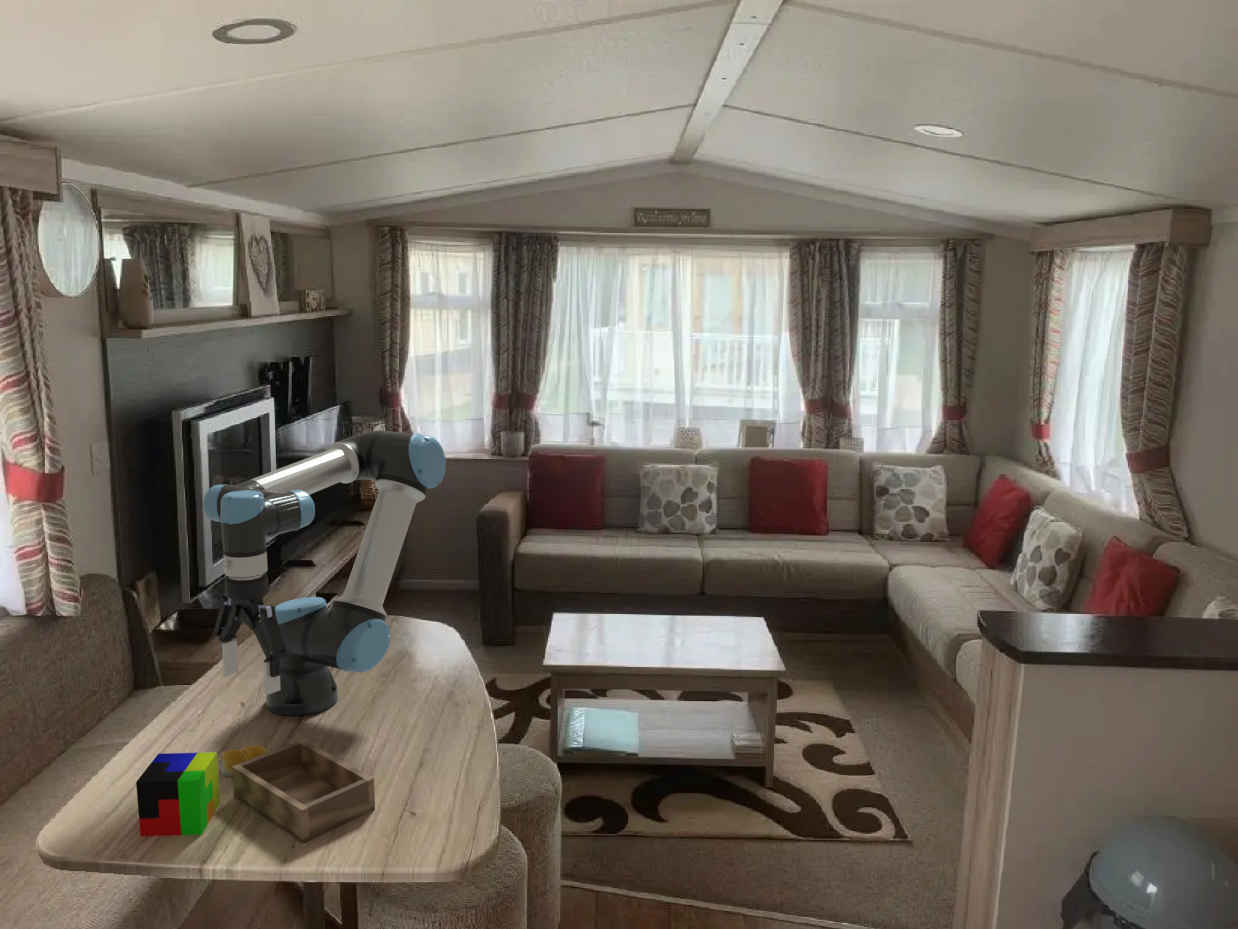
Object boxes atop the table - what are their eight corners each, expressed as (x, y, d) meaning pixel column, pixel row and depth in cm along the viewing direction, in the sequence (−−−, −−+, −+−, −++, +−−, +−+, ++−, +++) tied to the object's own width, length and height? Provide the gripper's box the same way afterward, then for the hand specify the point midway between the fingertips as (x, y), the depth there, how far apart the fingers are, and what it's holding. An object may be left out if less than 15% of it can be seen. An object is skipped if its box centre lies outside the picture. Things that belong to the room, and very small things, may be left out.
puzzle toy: (162, 805, 176) (158, 753, 175) (220, 804, 177) (216, 752, 175) (140, 837, 167) (136, 782, 165) (201, 835, 168) (198, 780, 166)
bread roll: (274, 770, 190) (273, 751, 189) (225, 783, 185) (224, 763, 184) (264, 753, 197) (263, 734, 196) (216, 764, 192) (215, 745, 191)
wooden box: (233, 797, 179) (231, 766, 178) (303, 768, 190) (302, 739, 189) (303, 843, 165) (301, 810, 164) (375, 809, 176) (374, 778, 175)
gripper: (190, 566, 188) (196, 672, 192) (268, 592, 173) (273, 706, 177) (226, 558, 194) (232, 661, 198) (304, 583, 179) (309, 693, 183)
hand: (251, 682), depth 187 cm, fingers open, 13 cm apart
